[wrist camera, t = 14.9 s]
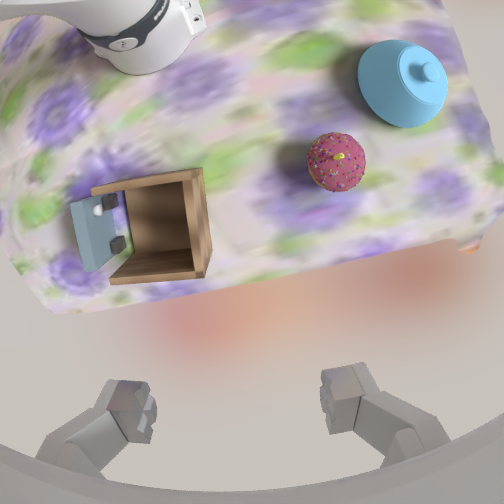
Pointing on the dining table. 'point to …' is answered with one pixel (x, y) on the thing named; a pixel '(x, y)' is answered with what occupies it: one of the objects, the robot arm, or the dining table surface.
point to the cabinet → (162, 226)
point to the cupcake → (336, 161)
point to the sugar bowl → (402, 82)
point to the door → (93, 231)
